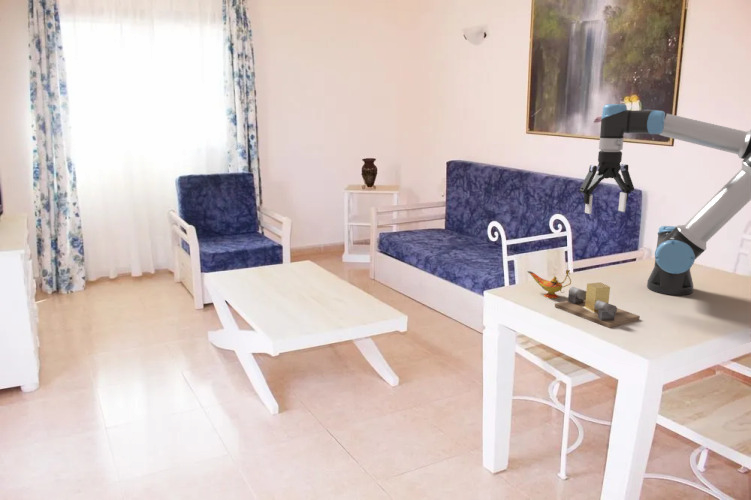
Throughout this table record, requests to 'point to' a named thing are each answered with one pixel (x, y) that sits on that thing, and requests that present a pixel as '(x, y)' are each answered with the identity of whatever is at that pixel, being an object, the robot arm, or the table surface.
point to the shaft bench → (593, 317)
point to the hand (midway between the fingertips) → (604, 212)
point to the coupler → (596, 295)
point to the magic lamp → (550, 284)
